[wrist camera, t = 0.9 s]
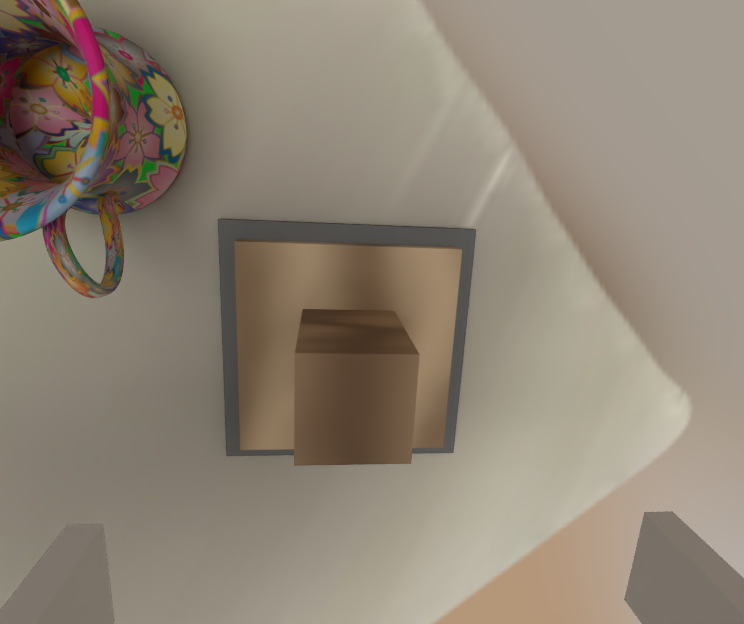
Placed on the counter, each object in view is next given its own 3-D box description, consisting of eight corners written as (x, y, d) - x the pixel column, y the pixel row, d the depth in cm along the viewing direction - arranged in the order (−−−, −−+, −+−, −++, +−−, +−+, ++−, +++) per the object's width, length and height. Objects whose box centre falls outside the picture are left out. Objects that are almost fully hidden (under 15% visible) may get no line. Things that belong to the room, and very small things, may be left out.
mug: (-36, 62, 22) (-355, -50, 12) (147, -6, 22) (-8, -177, 12) (91, 293, 25) (-70, 364, 15) (250, 234, 25) (200, 264, 15)
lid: (243, 440, 28) (211, 538, 20) (237, 239, 25) (198, 261, 17) (439, 439, 29) (480, 529, 21) (457, 247, 26) (513, 271, 18)
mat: (228, 450, 28) (226, 455, 28) (220, 218, 25) (218, 219, 24) (450, 447, 30) (453, 452, 29) (472, 229, 26) (476, 229, 26)
